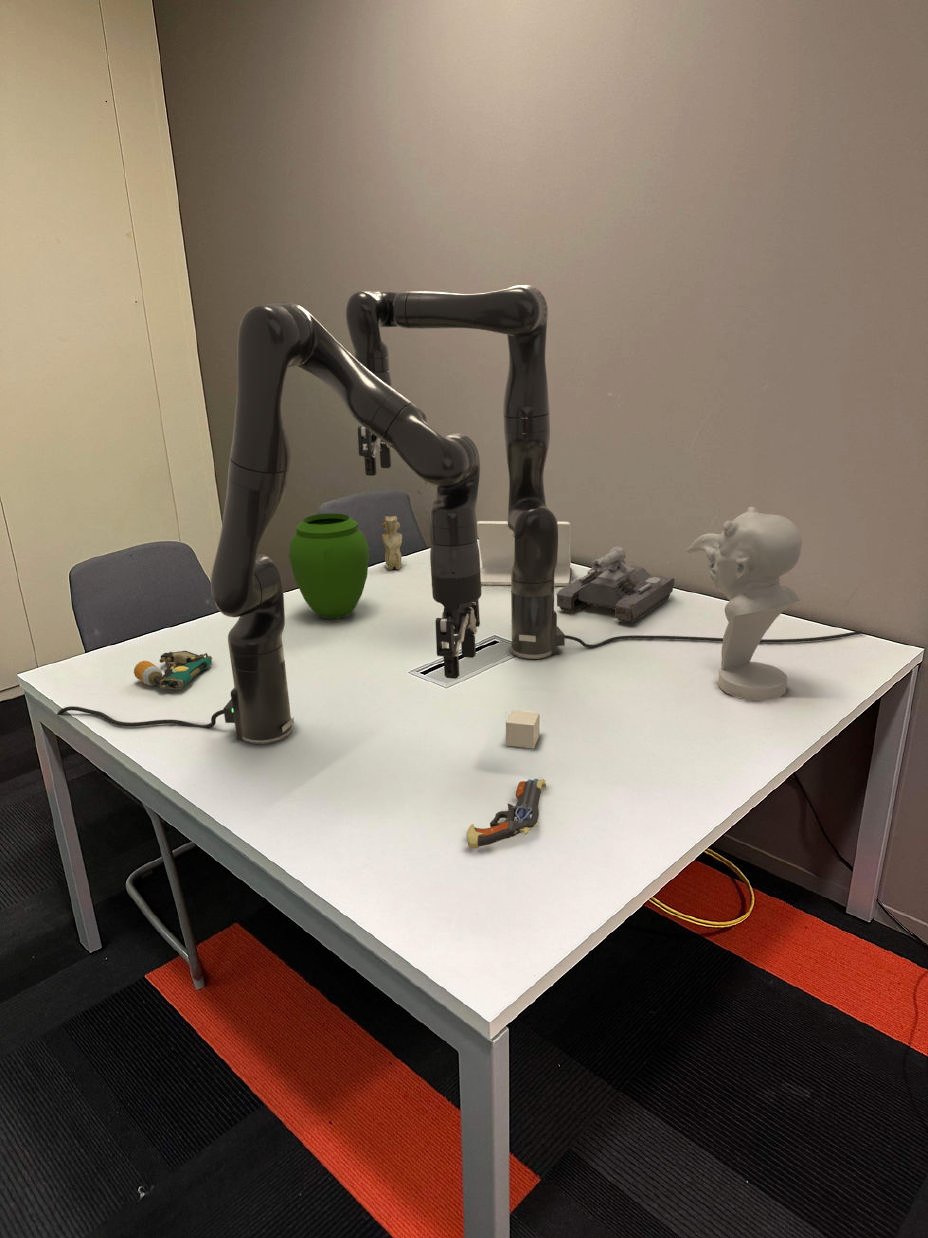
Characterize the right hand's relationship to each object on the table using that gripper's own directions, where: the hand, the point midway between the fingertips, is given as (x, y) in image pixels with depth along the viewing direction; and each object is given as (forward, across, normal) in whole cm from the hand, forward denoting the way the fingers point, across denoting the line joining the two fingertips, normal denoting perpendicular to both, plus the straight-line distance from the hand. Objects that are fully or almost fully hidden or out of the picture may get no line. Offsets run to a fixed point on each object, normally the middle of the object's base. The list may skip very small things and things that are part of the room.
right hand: (378, 471), depth 183 cm
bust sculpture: (+39, -7, -76) cm, 86 cm away
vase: (+39, +13, +20) cm, 46 cm away
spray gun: (+39, -29, +37) cm, 61 cm away
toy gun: (+39, -63, -44) cm, 86 cm away
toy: (+39, +34, -48) cm, 70 cm away
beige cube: (+39, -39, -40) cm, 69 cm away
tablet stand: (+39, +53, -20) cm, 69 cm away
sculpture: (+39, +53, +19) cm, 68 cm away
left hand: (+20, -51, -33) cm, 64 cm away
